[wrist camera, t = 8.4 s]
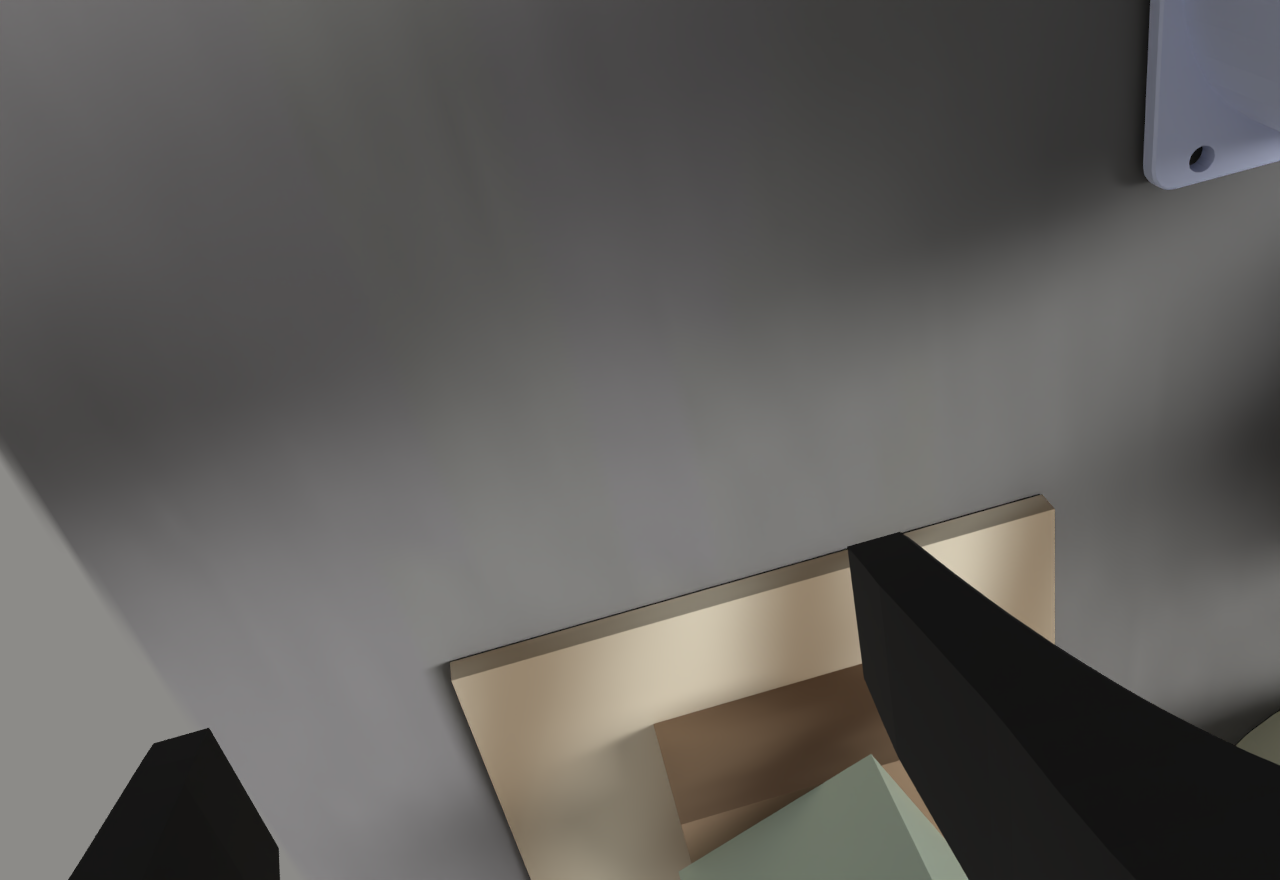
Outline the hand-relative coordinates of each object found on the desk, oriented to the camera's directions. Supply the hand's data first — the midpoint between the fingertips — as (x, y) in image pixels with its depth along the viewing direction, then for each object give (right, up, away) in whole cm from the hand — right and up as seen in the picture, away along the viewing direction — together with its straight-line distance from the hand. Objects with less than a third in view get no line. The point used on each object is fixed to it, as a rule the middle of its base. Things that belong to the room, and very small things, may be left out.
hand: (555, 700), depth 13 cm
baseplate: (+5, -5, +17) cm, 18 cm away
